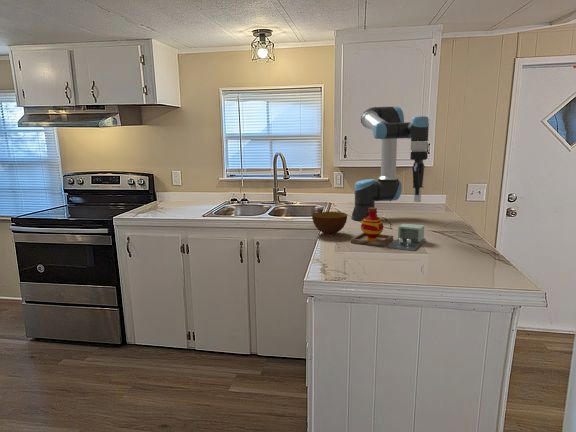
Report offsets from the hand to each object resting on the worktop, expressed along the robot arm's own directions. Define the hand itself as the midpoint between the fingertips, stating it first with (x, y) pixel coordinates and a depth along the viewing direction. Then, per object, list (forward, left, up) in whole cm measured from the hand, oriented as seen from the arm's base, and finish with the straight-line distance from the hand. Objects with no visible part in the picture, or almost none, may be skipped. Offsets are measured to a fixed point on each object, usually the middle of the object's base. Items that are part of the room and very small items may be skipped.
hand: (417, 201), depth 190 cm
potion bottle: (-16, -16, -17) cm, 28 cm away
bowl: (-40, -12, -18) cm, 45 cm away
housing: (0, -9, -16) cm, 18 cm away
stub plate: (0, -14, -17) cm, 22 cm away
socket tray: (-16, -16, -17) cm, 29 cm away
